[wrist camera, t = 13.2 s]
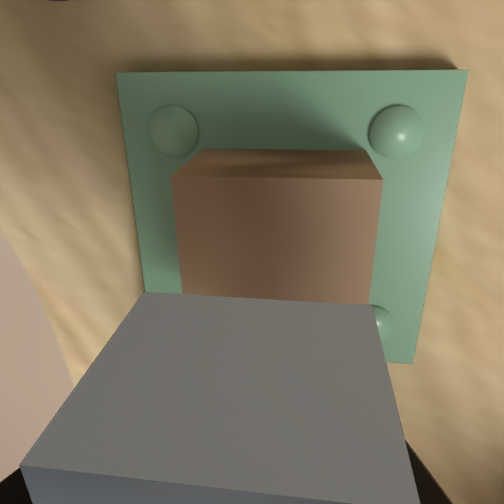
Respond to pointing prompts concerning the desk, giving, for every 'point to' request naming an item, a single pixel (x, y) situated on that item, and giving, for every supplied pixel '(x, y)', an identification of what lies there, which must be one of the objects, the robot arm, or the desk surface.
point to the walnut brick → (278, 224)
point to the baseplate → (304, 138)
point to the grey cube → (229, 410)
